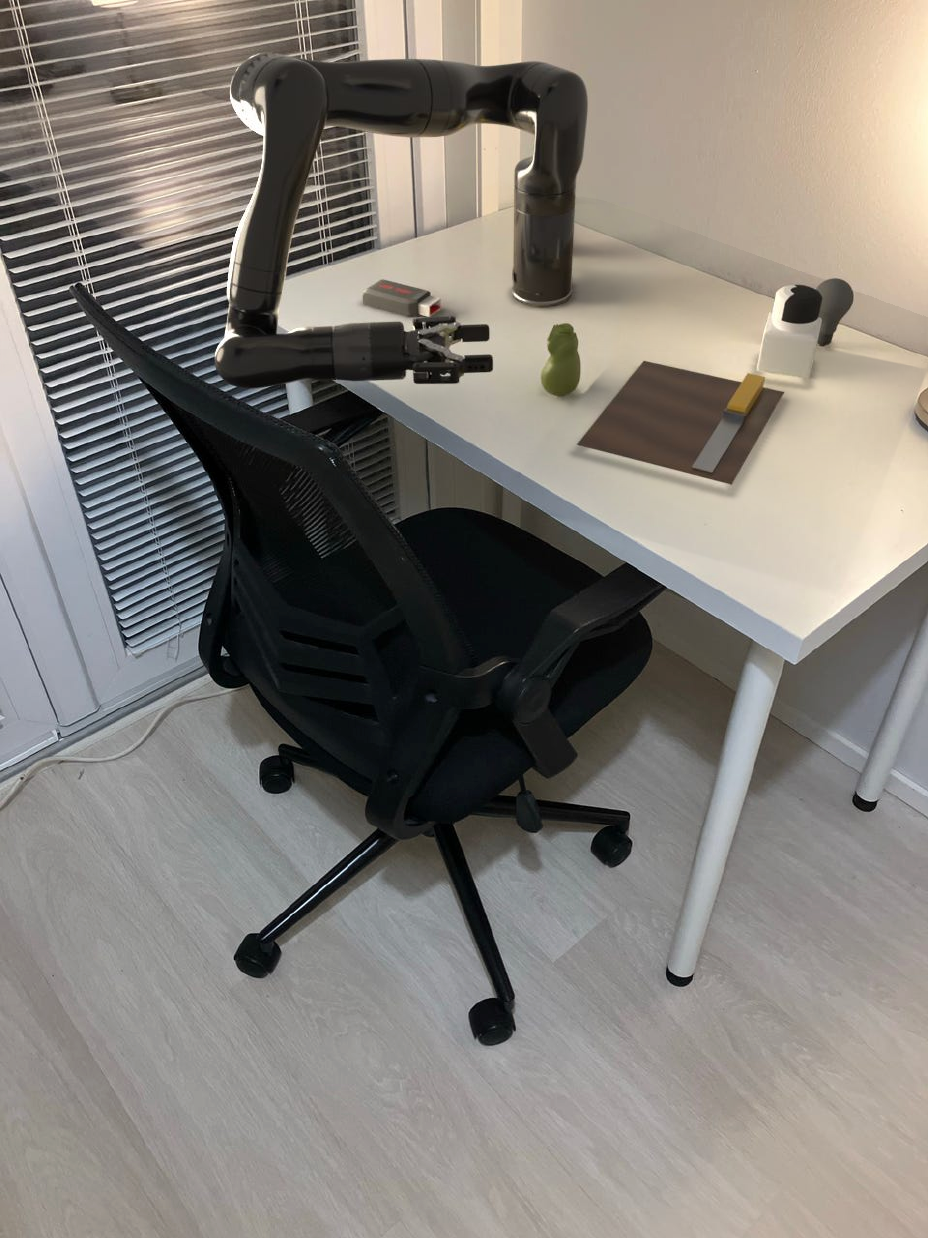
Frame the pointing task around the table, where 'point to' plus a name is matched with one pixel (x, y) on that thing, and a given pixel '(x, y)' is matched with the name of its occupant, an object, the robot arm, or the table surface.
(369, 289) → the usb drive
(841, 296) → the light bulb
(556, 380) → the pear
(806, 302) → the medicine bottle
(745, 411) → the knife
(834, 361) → the table surface
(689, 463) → the cutting board
